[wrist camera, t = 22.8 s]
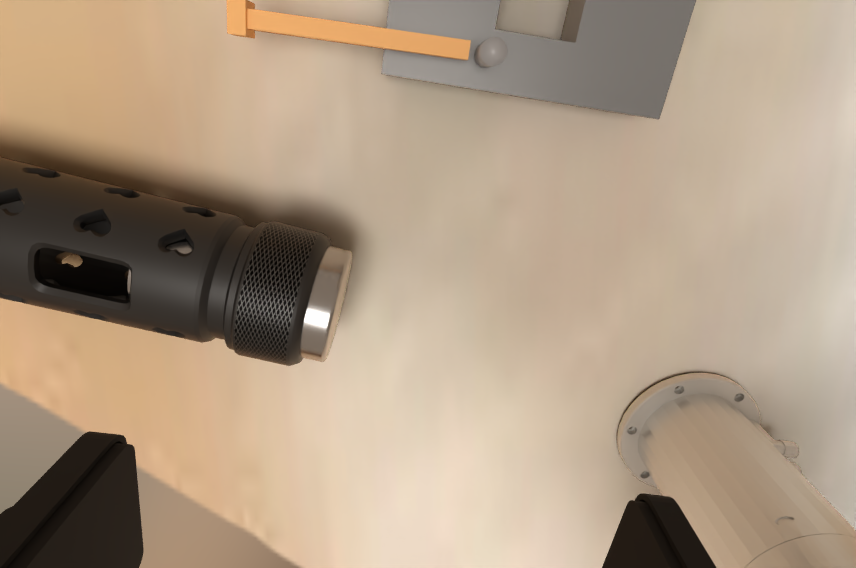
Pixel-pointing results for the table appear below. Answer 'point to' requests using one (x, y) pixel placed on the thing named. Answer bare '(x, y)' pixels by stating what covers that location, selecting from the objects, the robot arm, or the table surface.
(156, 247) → the muzzle brake
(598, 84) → the plate
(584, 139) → the table surface
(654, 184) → the table surface
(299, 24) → the orange peg
